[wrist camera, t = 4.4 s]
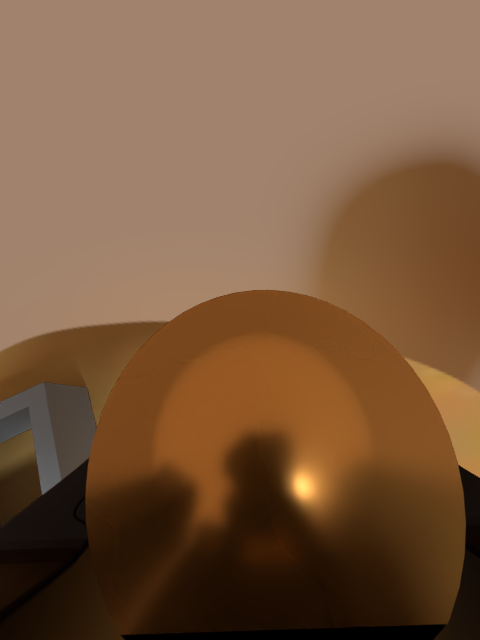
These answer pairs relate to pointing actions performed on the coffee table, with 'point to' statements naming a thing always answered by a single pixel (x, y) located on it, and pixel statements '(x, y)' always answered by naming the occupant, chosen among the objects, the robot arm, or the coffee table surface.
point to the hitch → (52, 427)
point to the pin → (273, 482)
